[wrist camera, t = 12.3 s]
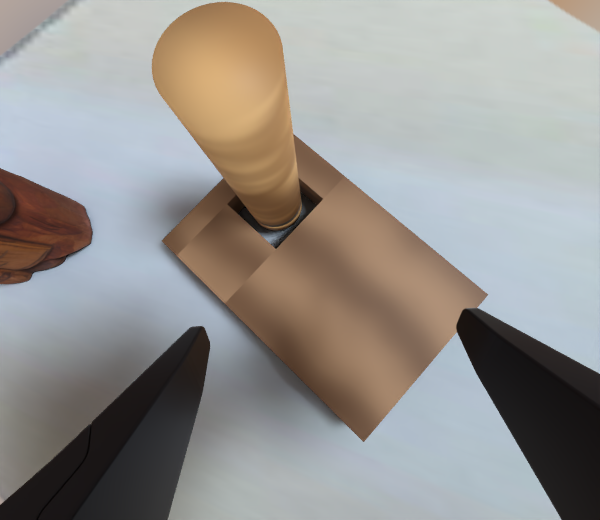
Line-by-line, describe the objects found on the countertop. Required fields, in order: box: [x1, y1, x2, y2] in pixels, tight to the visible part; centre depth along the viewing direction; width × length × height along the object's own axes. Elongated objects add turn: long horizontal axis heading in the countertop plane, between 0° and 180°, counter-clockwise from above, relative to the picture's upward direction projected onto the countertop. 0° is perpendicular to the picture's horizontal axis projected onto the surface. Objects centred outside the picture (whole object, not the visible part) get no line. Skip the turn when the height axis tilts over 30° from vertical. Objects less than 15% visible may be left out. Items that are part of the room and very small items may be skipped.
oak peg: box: [152, 2, 302, 231], centre depth 14 cm, size 4×4×14 cm
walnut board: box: [162, 134, 488, 442], centre depth 19 cm, size 13×20×2 cm, turn 47°
